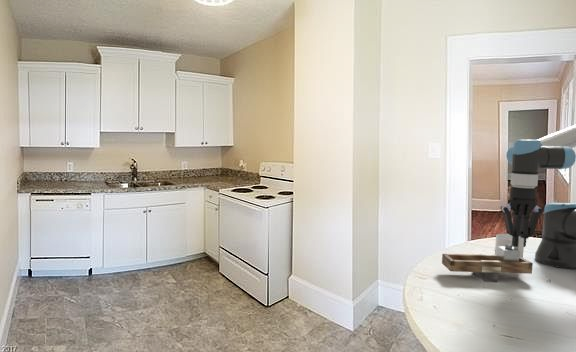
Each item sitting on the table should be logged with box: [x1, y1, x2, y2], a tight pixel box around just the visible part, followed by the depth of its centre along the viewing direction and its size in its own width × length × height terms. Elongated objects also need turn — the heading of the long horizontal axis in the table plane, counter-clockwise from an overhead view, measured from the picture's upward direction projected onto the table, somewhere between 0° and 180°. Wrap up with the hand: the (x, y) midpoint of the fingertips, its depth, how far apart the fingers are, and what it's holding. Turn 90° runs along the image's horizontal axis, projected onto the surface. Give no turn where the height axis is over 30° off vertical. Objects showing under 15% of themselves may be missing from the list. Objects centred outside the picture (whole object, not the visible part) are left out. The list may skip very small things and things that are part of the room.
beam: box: [441, 253, 534, 283], centre depth 126 cm, size 26×9×7 cm, turn 87°
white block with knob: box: [497, 244, 520, 262], centre depth 125 cm, size 5×4×6 cm
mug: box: [494, 233, 525, 258], centre depth 138 cm, size 12×9×11 cm
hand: (517, 255), depth 125 cm, fingers closed
